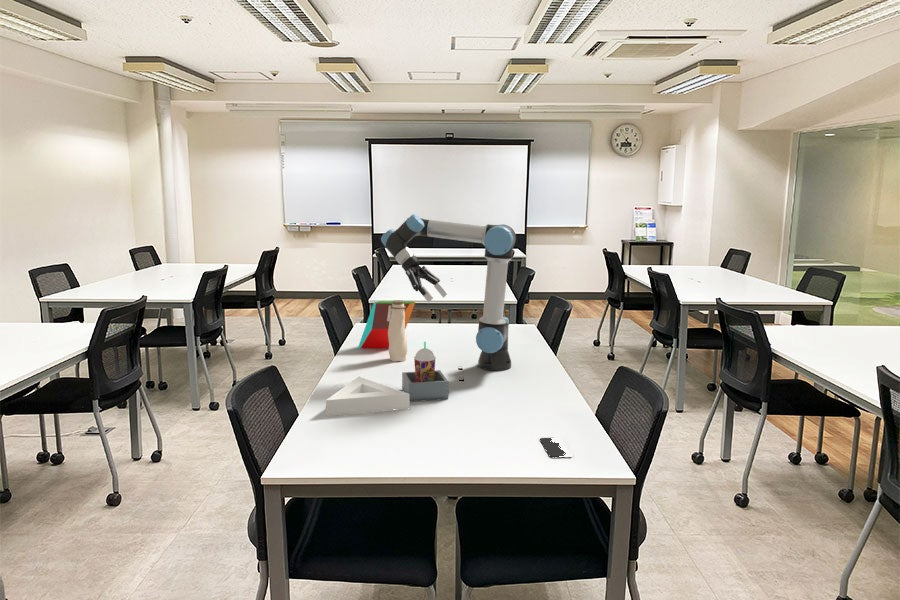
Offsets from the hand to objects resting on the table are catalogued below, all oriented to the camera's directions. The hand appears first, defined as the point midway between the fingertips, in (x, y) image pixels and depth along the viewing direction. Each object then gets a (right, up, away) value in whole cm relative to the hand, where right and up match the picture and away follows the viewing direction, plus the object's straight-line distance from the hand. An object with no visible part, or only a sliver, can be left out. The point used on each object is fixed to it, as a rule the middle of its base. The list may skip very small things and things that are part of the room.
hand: (438, 297), depth 269 cm
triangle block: (-28, -40, -30) cm, 57 cm away
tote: (-5, -38, -21) cm, 44 cm away
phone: (+38, -48, -72) cm, 94 cm away
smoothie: (-5, -37, -21) cm, 43 cm away
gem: (-27, -25, +52) cm, 64 cm away
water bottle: (-20, -29, +29) cm, 46 cm away
